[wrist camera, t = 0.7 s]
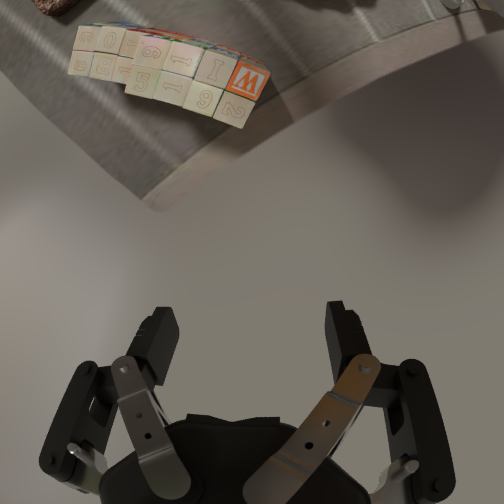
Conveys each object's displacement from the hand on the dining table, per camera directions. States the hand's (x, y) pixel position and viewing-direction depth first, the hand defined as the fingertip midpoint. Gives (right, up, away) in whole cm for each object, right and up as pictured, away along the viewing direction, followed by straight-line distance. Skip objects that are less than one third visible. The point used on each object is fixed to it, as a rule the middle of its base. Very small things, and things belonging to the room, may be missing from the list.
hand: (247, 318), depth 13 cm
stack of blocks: (-9, +29, +13) cm, 33 cm away
